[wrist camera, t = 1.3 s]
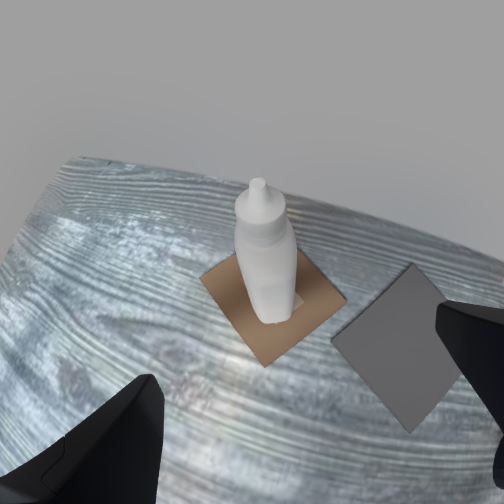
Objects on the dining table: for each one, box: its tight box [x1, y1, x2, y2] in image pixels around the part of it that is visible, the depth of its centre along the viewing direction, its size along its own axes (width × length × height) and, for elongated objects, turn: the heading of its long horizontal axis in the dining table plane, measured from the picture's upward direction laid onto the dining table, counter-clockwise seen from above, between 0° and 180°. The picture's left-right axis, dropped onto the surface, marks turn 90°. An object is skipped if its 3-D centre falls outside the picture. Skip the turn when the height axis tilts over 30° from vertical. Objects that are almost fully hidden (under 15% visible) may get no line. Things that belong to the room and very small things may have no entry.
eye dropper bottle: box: [234, 177, 297, 324], centre depth 17 cm, size 4×6×12 cm
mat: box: [331, 264, 462, 433], centre depth 19 cm, size 10×10×1 cm
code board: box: [199, 249, 347, 368], centre depth 23 cm, size 9×8×1 cm
